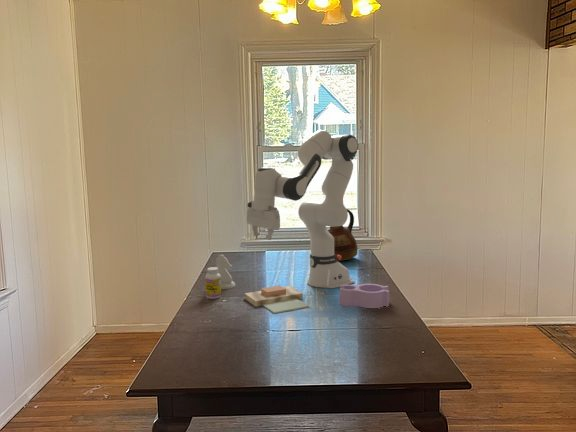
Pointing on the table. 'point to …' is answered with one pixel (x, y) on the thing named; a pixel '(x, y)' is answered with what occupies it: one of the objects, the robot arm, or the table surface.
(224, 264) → the chess piece
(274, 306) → the mat
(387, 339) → the table surface
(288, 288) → the beige flat block
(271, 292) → the tile
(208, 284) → the supplement bottle
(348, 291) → the clip
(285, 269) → the table surface
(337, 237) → the ceramic pitcher
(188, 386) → the table surface
